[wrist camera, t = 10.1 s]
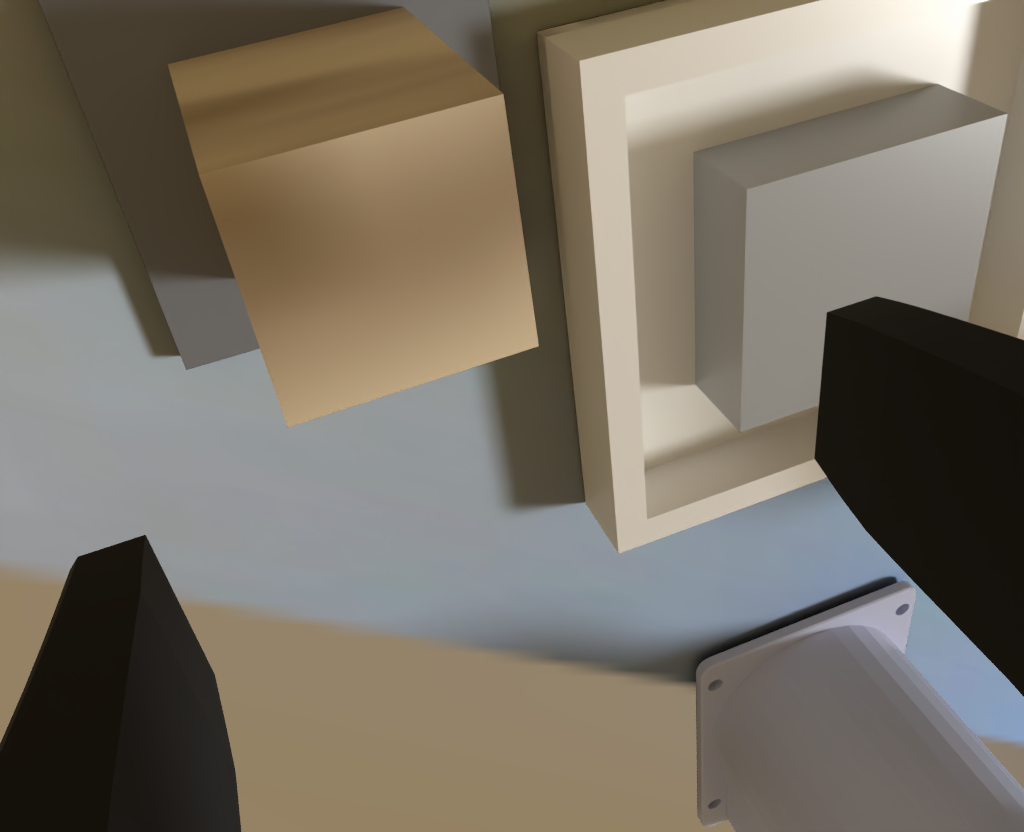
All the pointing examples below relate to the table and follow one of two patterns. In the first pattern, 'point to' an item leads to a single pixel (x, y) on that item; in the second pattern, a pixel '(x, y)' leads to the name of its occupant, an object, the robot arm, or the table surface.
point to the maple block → (361, 207)
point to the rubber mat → (163, 137)
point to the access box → (765, 222)
